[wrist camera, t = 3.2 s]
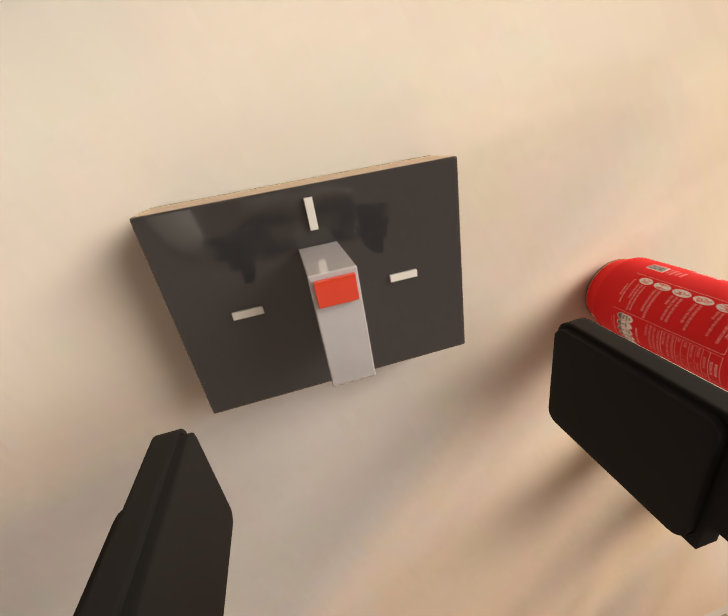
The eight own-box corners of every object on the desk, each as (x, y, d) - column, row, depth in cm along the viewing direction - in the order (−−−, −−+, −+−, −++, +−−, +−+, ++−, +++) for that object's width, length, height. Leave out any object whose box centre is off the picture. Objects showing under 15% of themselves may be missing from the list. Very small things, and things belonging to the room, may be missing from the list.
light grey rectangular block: (354, 331, 18) (377, 378, 15) (320, 341, 18) (334, 390, 14) (337, 240, 16) (358, 267, 12) (298, 249, 16) (307, 279, 12)
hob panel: (220, 381, 21) (213, 416, 18) (149, 208, 17) (126, 219, 14) (442, 321, 23) (466, 345, 20) (430, 155, 19) (459, 155, 16)
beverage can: (582, 265, 24) (835, 355, 13) (647, 244, 25) (938, 314, 14) (578, 330, 26) (792, 452, 16) (638, 309, 27) (882, 413, 16)
